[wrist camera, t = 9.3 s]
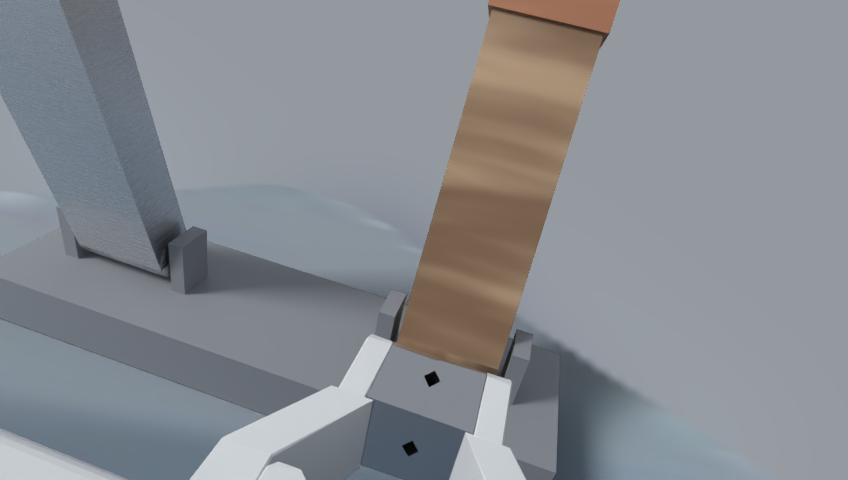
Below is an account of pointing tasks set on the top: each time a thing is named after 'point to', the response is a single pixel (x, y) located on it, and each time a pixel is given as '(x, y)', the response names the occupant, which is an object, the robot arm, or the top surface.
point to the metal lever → (90, 126)
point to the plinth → (243, 328)
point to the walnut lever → (502, 176)
